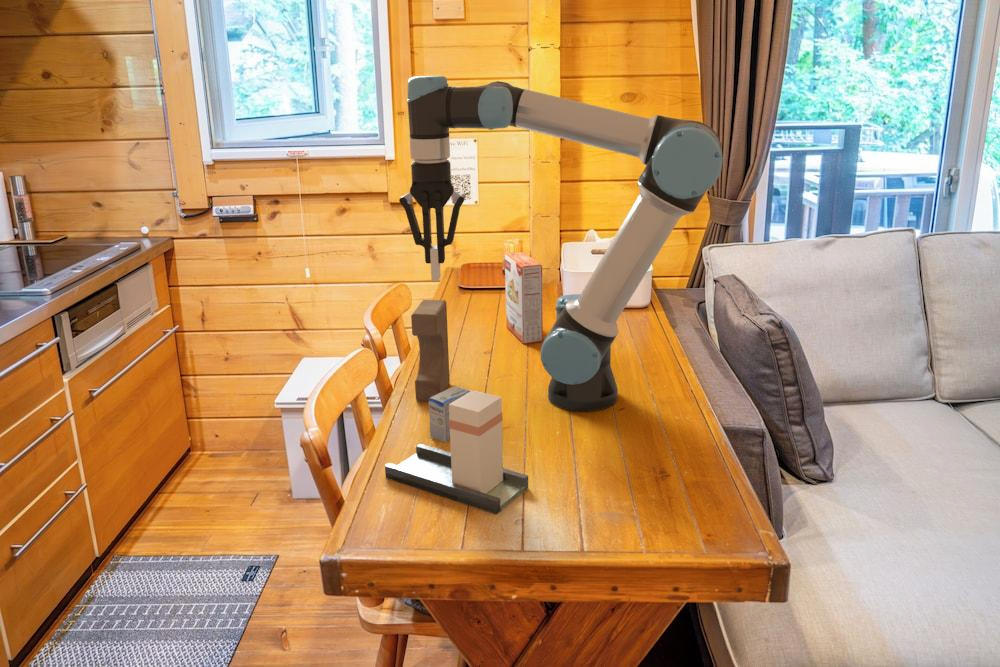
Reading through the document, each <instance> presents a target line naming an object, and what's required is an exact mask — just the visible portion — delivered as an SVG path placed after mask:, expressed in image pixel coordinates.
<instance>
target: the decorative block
mask: <svg viewBox="0 0 1000 667" xmlns="http://www.w3.org/2000/svg"><path fill="white" fill-rule="evenodd" d="M447 308H448V307H447V301H446V300H444V299H422V301H421V302H420V303H419V304H418V306H417V307H416V309H415V310H414V311H413V312H412V314H411V315H410V317H411V318H410V319H411V333H412V335H413V336H415V337H417V340H418V348H419V361H418V369H417V374H416V377H415V379H414V390H415V391H414V392H415V400H416V401H417V402H429V398H430V397H432V396H434V395H436V394H439V393H441V392H443V391H445V390H447V388H448V386H449V384H450V383H451V382H450V379H451V378H450V360H449V359H450V358H449V354H450V353H449V336H448V332H449V330H448V312H447V310H448V309H447Z"/></svg>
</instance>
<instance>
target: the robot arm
mask: <svg viewBox="0 0 1000 667" xmlns="http://www.w3.org/2000/svg"><path fill="white" fill-rule="evenodd" d="M406 104H407V113H408V115H407V116H408V126H409V148H410V149H409V150H410V151H409V152H410V159H411V160H413V161H412V162H411V163H410V164H411V165H410V168H411V186H410V188H409V192H407V193H406V194H405V195H404V194H403V195H402V196H401V197H400V198H399V200H398V201H399V204H400V205H401V206H402V207H403V208H404V211H405V215H406V218H407V221H408V223H409V228H410V231H411V234H412V238H413V241H414V245H417V246H421V247H423V249H424V261H425V263H426V264H430V270H431V271H430V273H431V274H430V276H431V279H430V280H431V281H433V282H435V281H436V282H439V281H440V279H441V264H444V263H445V262H446V261H445V260H446V251H445V250H446V249H445V248H446V246H451V245H452V244H453V242H454V240H455V239H454V238H455V234H456V228H457V225H458V219H459V215H460V210H461V206H462V205H463V204H464V202H465V200H466V196H465V195H464V194H460V193H458V192H457V191H455V188H454V186H453V183H452V174H451V173H452V171H451V170H452V169H451V162H450V160H448V159H449V158H450V156H451V149H450V148H451V147H450V146H451V145H450V129H480V130H481V129H482V130H483V129H484V130H485V129H487V130H490V131H492V130H495V129H506V128H508V127H514V128H519V129H522V130H527V131H531V132H535V133H539V134H543V135H546V136H550V137H551V136H552V137H555V138H559V139H563V140H567V141H571V142H574V143H579V144H582V145H587V146H590V147H591V146H592V147H595V148H599V149H604V150H606V151H610V152H615V153H618V154H623V155H627V156H630V157H631V156H632V157H635V158H638V159H639V160H640V161H641V163H642V164H643V165H645V167H644V169H643V171H642V173H640V176H639V177H638V180H637V184H638V189H639V194H638V195H637V197H636V199H635V201H634V203H633V205H632V207H631V208H630V209H629V212H628V213H627V214H626V216H625V218H624V220H623V222H622V223H621V225H620V227H619V229H618V230H617V231H616V233H615V235H614V237H613V238H612V240H611V242H610V244H609V245H608V246H607V249H606V251H605V252H604V254H602V255H603V256H602V257H601V259H600V261H599V262H598V264H597V266H596V267H595V269H594V271H593V273H592V274H591V276H590V277H589V279H588V281H587V283H586V285H585V286H584V288H583V290H582V291H581V293H579V294H577V293H575V294H574V293H573V294H565V295H561V296H560V297H558V298H557V300H556V306H555V310H556V312H555V313H556V314H555V315H556V318H555V322H554V323H553V325H552V326H551V329H550V331H549V332H548V334H547V336H546V337H544V338H543V341H542V343H541V347H540V348H541V349H540V361H541V364H542V366H543V368H544V370H545V371H546V373H547V374H548V375H549V376H550V377H551V379H550V381H549V383H548V389H547V391H548V392H547V398H548V401H549V402H550V403H552V404H553V405H554V406H556V407H558V408H561V409H565V410H570V411H576V412H594V411H600V410H604V409H607V408H610V407H611V406H613V405H614V404H616V403H617V401H618V397H619V396H618V395H619V394H618V392H619V390H618V385H617V382H616V379H615V376H614V372H613V369H612V367H611V366H612V365H611V350H612V349H611V348H612V346H611V345H612V343H614V341H615V339H616V337H618V336H617V335H618V334H619V327H618V324H617V321H618V319H619V318H620V317H621V314H622V313H623V311H624V309H625V308H626V307H627V305H628V304H629V301H630V300H631V298H632V297H633V295H634V293H635V292H636V290H637V288H638V287H639V285H640V284H641V282H642V280H643V279H644V277H646V274H647V272H649V269H650V267H651V266H652V265H653V263H654V261H655V260H656V258H657V256H658V255H659V253H660V251H661V250H662V248H663V247H664V245H665V243H666V242H667V240H668V238H669V236H670V235H671V234H672V231H673V230H674V228H675V227H676V226H677V223H678V222H679V220H680V219H681V218H682V217H683V216H687V215H690V214H693V213H694V212H695V210H696V209H697V207H698V206H699V204H700V202H701V201H702V199H703V198H704V196H705V194H706V192H708V191H709V190H710V189H711V188H712V187H713V186H714V185H715V184H716V182H717V181H718V179H719V177H720V175H721V173H722V169H723V164H724V163H723V162H724V156H723V149H722V148H723V147H722V143H721V140H720V138H719V136H718V134H717V133H716V131H715V130H714V129H713V128H712V127H711V126H709V125H708V124H706V123H705V122H701V121H699V120H692V119H681V118H673V117H668V116H664V115H659V114H655V115H654V116H651V117H650V118H648V117H644V116H640V115H636V114H632V113H628V112H622V111H619V110H614V109H610V108H606V107H602V106H597V105H594V104H589V103H585V102H581V101H577V100H573V99H569V98H564V97H561V96H556V95H552V94H547V93H544V92H543V93H542V92H539V91H535V90H530V89H526V88H521V87H517V86H513V85H512V84H510V83H508V82H505V81H499V80H497V81H492V82H489V83H488V84H483V85H480V86H479V85H478V86H461V87H460V86H459V87H458V86H457V87H456V86H449V83H448V79H447V77H446V76H444V75H417V76H412V77H410V78H409V79H408V80H407V100H406ZM451 197H452V200H451V202H452V204H453V207H452V211H451V215H450V216H451V217H450V220H449V226H448V231H447V236H446V237H445V219H444V218H445V217H444V207H445V206H446V205H447V203H448V201H449V200H450V198H451ZM414 200H415V201H416V202H417V204H418V205H419V207H420V208H421V213H422V226H423V227H422V230H423V234H422V232H421V230H420V226H419V222H418V219H417V215H416V212H415V209H414V205H413V202H414ZM431 209H434V213H435V224H436V225H435V226H436V227H435V228H436V245H432V244H433V241H432V222H431V221H432V218H431V217H432V216H431V215H432V214H431ZM422 235H423V236H422Z"/></svg>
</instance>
